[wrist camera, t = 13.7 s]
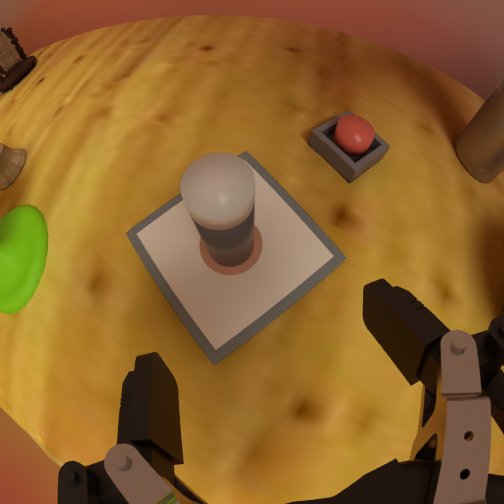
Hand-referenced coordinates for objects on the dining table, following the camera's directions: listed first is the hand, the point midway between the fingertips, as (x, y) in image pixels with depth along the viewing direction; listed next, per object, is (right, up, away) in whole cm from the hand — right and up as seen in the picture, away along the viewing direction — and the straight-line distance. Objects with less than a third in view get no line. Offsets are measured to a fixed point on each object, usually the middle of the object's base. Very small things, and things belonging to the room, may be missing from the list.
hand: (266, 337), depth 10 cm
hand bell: (-43, +18, +23) cm, 51 cm away
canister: (-2, +4, +16) cm, 17 cm away
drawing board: (-2, +3, +18) cm, 18 cm away
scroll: (-69, +55, +34) cm, 95 cm away
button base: (+11, +16, +21) cm, 29 cm away
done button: (+11, +16, +20) cm, 28 cm away
